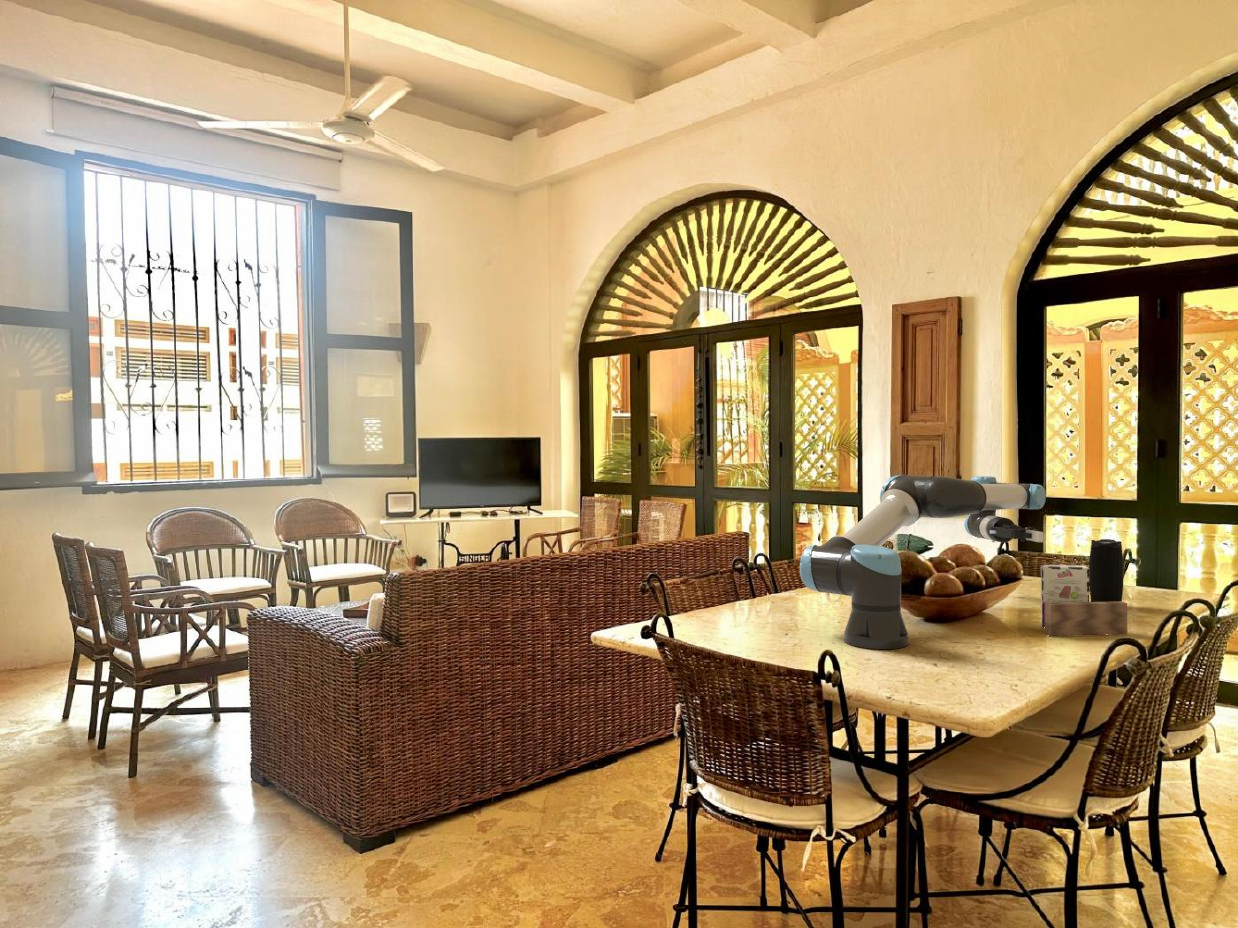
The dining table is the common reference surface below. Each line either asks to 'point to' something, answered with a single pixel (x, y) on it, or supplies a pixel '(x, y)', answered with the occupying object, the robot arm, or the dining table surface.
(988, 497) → the robot arm
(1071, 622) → the walnut board
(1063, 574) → the candy bar box
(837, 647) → the dining table surface
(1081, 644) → the dining table surface
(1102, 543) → the portable speaker
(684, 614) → the dining table surface
